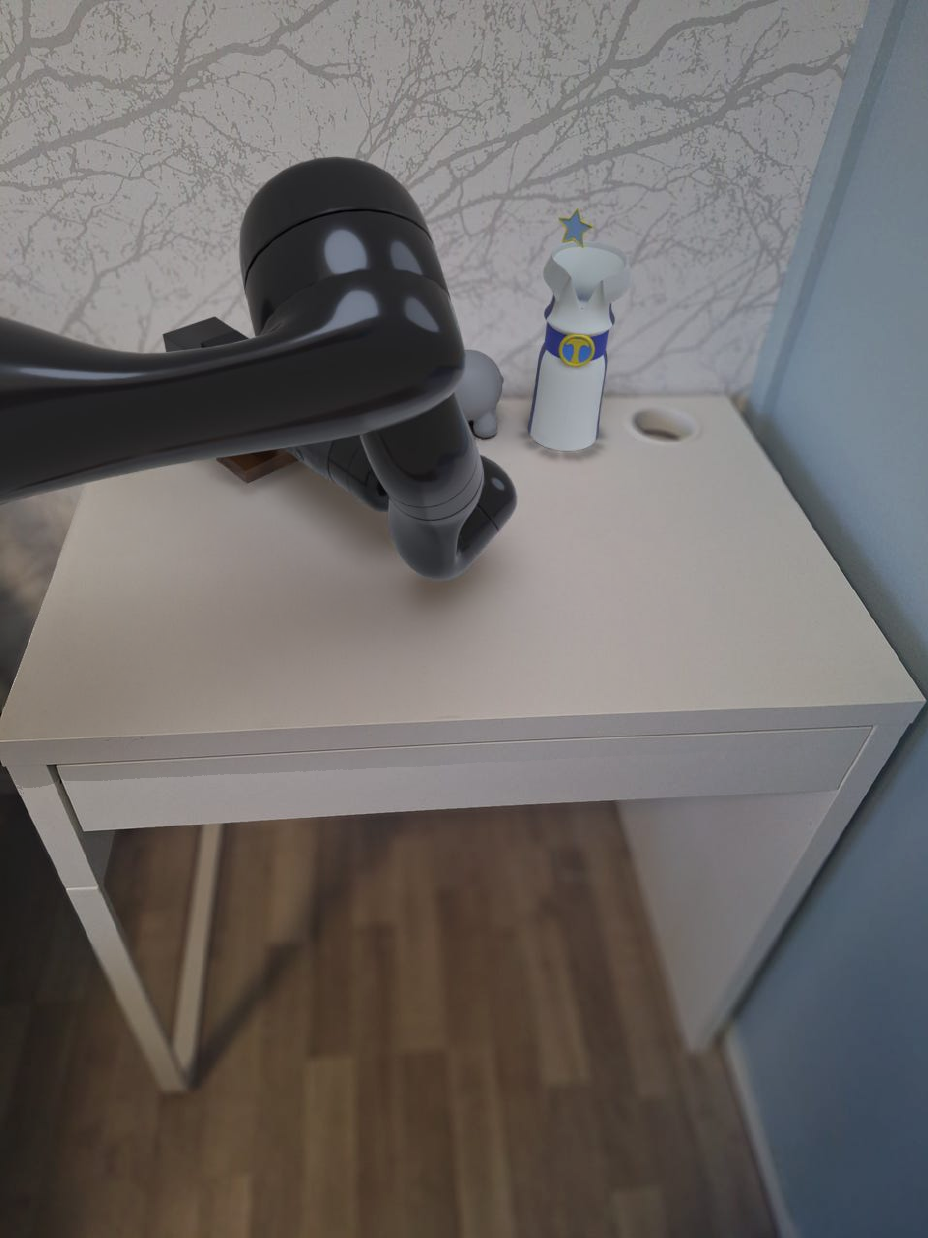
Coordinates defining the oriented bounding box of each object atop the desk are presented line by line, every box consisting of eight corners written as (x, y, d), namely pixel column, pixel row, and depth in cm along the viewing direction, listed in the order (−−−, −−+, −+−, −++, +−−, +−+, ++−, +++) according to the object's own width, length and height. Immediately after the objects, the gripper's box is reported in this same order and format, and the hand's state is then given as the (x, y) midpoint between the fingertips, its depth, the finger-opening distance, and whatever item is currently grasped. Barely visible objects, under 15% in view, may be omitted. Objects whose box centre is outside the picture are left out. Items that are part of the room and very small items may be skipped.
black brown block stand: (247, 483, 91) (233, 389, 83) (176, 427, 97) (157, 335, 90) (304, 457, 94) (296, 365, 87) (232, 404, 101) (219, 314, 93)
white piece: (604, 457, 97) (649, 216, 79) (523, 449, 97) (551, 208, 80) (603, 414, 103) (645, 182, 85) (527, 407, 103) (553, 174, 86)
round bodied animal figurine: (391, 403, 102) (391, 332, 96) (499, 408, 103) (505, 338, 97) (387, 440, 97) (386, 367, 91) (499, 445, 98) (506, 373, 92)
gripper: (388, 364, 82) (275, 295, 91) (255, 420, 75) (145, 340, 84) (389, 435, 88) (282, 364, 96) (265, 493, 80) (161, 411, 89)
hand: (219, 353), depth 90 cm, fingers closed on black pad, 4 cm apart
